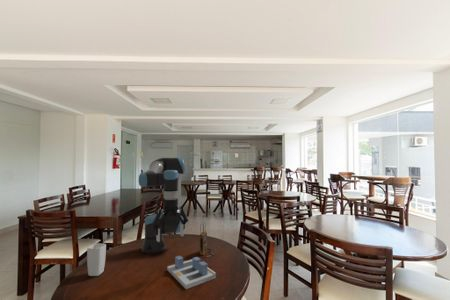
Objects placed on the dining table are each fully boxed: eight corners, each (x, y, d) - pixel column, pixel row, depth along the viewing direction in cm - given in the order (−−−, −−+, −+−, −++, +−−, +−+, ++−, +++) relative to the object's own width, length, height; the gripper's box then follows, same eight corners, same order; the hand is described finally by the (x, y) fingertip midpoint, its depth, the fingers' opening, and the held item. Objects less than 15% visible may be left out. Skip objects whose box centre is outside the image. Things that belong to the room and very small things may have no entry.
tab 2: (192, 267, 123) (192, 258, 123) (197, 265, 125) (197, 256, 125) (195, 270, 120) (195, 260, 120) (200, 268, 121) (200, 259, 122)
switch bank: (167, 270, 124) (167, 265, 124) (194, 261, 134) (194, 257, 134) (186, 289, 106) (186, 283, 106) (215, 278, 116) (215, 272, 116)
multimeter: (213, 258, 138) (213, 226, 139) (197, 257, 140) (197, 225, 141) (218, 249, 153) (218, 220, 154) (204, 248, 155) (204, 219, 156)
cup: (84, 277, 116) (85, 248, 117) (94, 270, 124) (94, 243, 124) (98, 278, 116) (99, 248, 117) (106, 271, 123) (107, 243, 124)
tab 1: (175, 266, 124) (175, 256, 125) (180, 264, 126) (180, 255, 126) (178, 268, 121) (178, 259, 121) (183, 267, 123) (183, 258, 123)
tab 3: (198, 272, 117) (198, 262, 117) (203, 270, 119) (203, 261, 119) (202, 275, 114) (202, 265, 114) (207, 273, 116) (207, 263, 116)
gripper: (150, 202, 111) (149, 245, 110) (194, 197, 126) (194, 235, 125) (145, 200, 117) (144, 241, 116) (187, 195, 132) (187, 231, 131)
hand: (170, 238), depth 120 cm, fingers open, 13 cm apart
